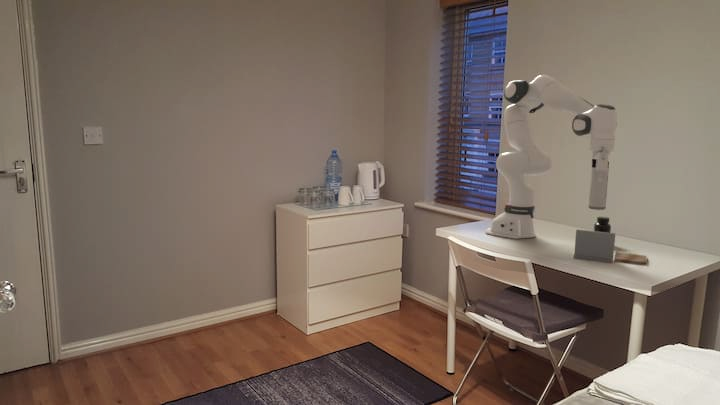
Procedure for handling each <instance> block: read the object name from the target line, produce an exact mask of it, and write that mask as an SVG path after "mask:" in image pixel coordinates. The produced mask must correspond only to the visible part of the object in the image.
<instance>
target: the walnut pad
mask: <svg viewBox="0 0 720 405" xmlns="http://www.w3.org/2000/svg"><path fill="white" fill-rule="evenodd" d="M613 262H617V263H627V264H634V265H640V266H641V265H642V266H647V255H643V254H635V253H627V252H626V253H625V252H617V251H616V252H615V255H614V258H613Z"/></svg>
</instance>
